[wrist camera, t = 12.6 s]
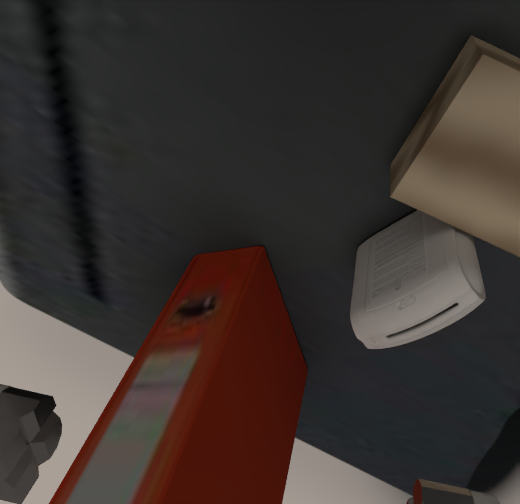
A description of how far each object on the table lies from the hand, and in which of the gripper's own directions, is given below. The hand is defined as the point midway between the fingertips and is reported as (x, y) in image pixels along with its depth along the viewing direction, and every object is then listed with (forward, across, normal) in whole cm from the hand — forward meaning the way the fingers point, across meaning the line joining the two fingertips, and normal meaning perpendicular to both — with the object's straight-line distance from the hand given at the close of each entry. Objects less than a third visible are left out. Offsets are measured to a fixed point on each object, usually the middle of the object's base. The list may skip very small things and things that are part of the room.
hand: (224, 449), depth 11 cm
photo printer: (+33, -8, +14) cm, 37 cm away
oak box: (+33, -12, +4) cm, 36 cm away
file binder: (+33, +6, +27) cm, 43 cm away
